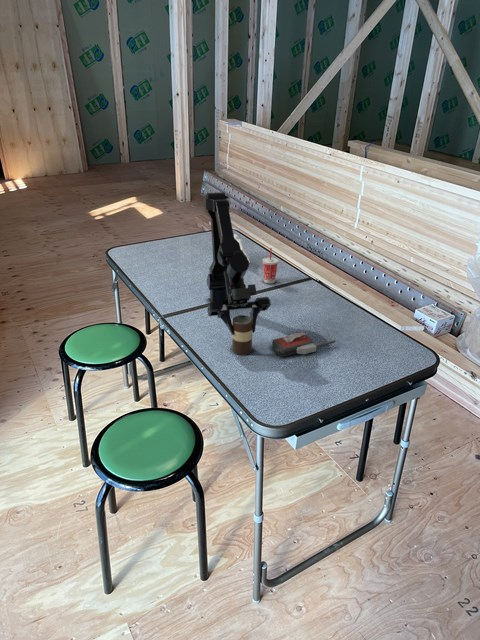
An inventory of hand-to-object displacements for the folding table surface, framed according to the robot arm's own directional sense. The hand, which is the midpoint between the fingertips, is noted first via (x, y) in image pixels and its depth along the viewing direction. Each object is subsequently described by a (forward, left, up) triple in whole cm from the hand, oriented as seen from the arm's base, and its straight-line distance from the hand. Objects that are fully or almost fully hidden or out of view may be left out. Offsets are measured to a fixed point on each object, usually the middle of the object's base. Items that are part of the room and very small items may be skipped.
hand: (243, 333), depth 146 cm
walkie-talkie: (+18, -5, -7) cm, 20 cm away
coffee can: (0, +1, -7) cm, 7 cm away
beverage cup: (+32, +44, -6) cm, 55 cm away
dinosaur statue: (+28, +68, -7) cm, 74 cm away
